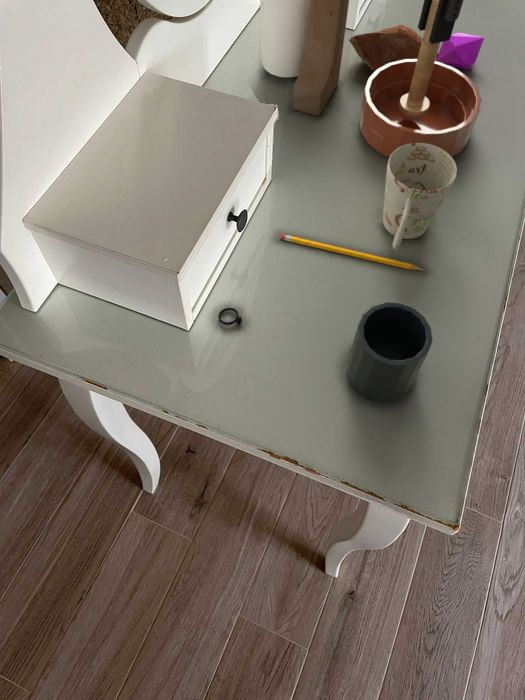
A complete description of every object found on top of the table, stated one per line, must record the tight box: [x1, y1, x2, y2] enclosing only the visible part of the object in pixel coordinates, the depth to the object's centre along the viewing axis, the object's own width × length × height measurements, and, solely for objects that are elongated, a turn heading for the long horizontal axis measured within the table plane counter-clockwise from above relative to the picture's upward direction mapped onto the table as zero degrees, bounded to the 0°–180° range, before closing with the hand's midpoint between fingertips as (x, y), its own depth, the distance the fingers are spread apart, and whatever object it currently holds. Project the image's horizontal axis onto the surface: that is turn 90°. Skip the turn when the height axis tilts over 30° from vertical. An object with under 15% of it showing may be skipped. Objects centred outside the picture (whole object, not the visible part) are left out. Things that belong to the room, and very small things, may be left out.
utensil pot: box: [346, 301, 433, 403], centre depth 64 cm, size 8×8×9 cm
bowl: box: [358, 59, 482, 159], centre depth 86 cm, size 16×16×6 cm
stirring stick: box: [399, 0, 441, 118], centre depth 78 cm, size 4×4×21 cm
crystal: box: [435, 32, 485, 70], centre depth 94 cm, size 5×5×5 cm
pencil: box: [279, 233, 424, 271], centre depth 77 cm, size 1×19×1 cm, turn 73°
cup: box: [259, 0, 310, 78], centre depth 89 cm, size 8×8×14 cm
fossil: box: [348, 24, 439, 73], centre depth 92 cm, size 13×8×10 cm
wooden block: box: [292, 0, 350, 117], centre depth 84 cm, size 9×4×18 cm, turn 157°
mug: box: [382, 143, 458, 251], centre depth 74 cm, size 8×13×10 cm, turn 162°
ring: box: [217, 307, 243, 326], centre depth 71 cm, size 2×1×3 cm
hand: (433, 33), depth 77 cm, fingers closed on stirring stick, 2 cm apart
